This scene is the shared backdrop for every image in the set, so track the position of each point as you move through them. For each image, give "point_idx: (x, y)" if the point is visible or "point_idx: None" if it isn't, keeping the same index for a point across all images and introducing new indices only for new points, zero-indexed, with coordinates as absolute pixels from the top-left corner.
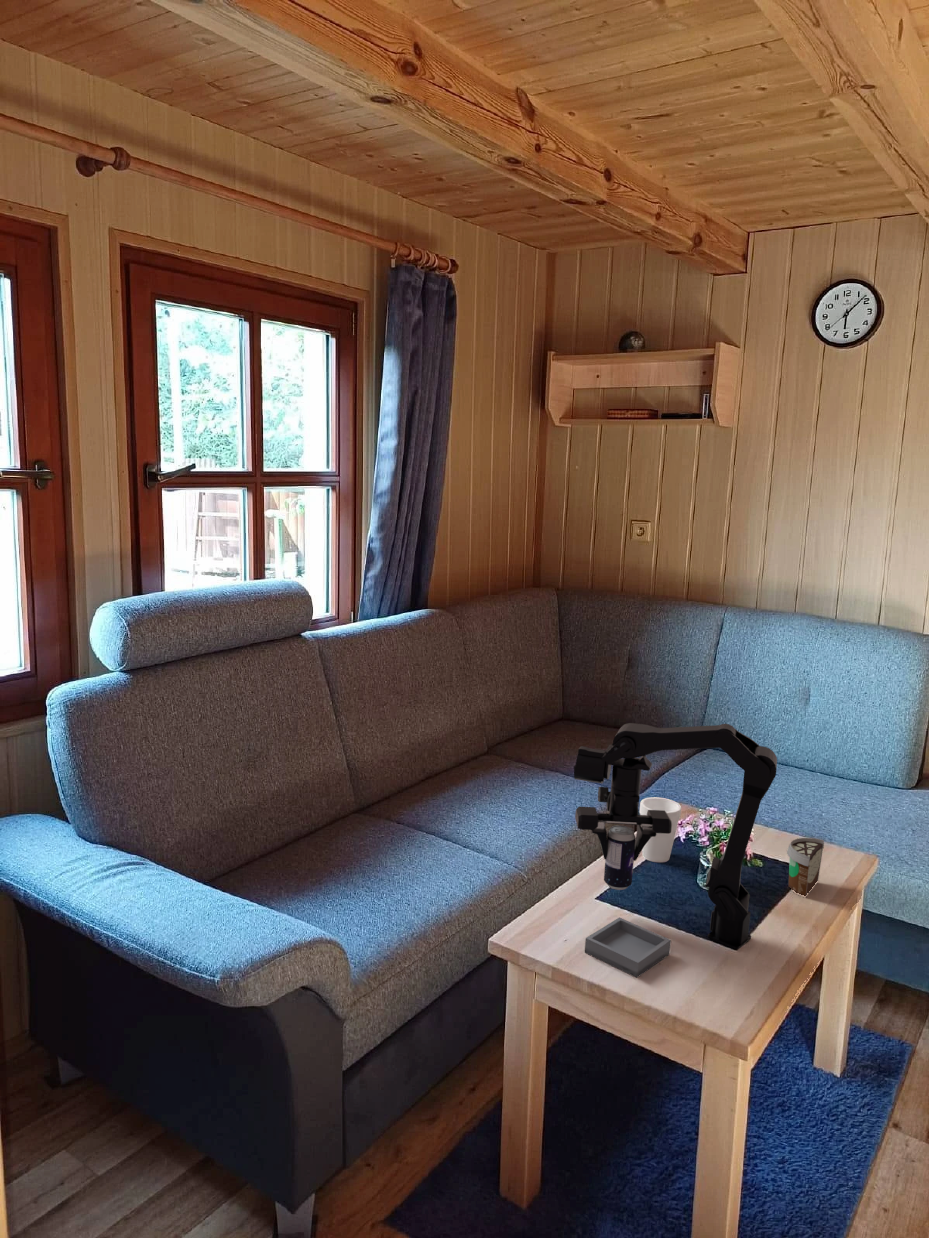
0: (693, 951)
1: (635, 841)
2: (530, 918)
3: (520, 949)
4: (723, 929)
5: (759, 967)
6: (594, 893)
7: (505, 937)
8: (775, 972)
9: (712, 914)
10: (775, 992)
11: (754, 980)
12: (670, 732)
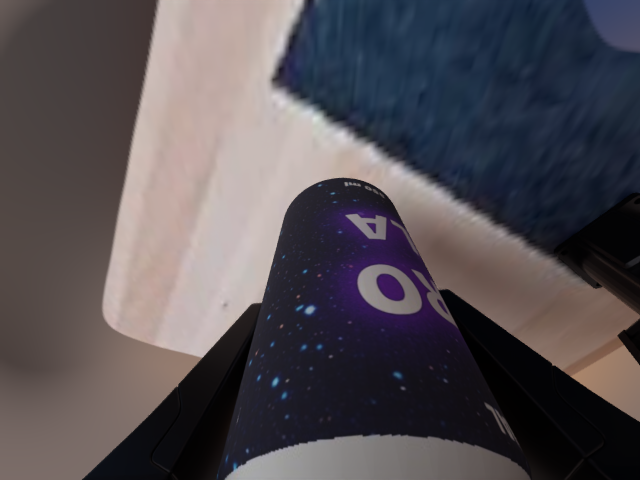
0: (487, 300)
1: (508, 391)
2: (122, 241)
3: (152, 340)
4: (604, 287)
5: (596, 326)
6: (267, 35)
7: (108, 314)
8: (617, 334)
9: (620, 265)
10: (571, 374)
11: (557, 356)
12: None
